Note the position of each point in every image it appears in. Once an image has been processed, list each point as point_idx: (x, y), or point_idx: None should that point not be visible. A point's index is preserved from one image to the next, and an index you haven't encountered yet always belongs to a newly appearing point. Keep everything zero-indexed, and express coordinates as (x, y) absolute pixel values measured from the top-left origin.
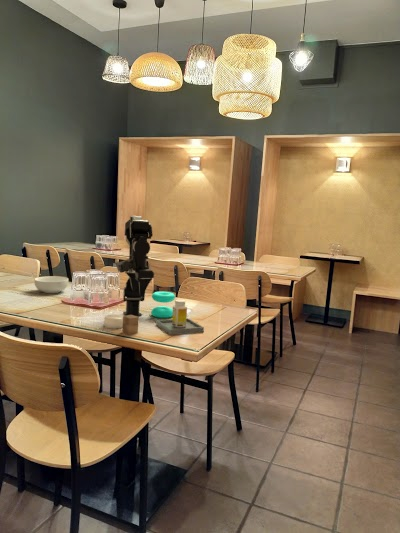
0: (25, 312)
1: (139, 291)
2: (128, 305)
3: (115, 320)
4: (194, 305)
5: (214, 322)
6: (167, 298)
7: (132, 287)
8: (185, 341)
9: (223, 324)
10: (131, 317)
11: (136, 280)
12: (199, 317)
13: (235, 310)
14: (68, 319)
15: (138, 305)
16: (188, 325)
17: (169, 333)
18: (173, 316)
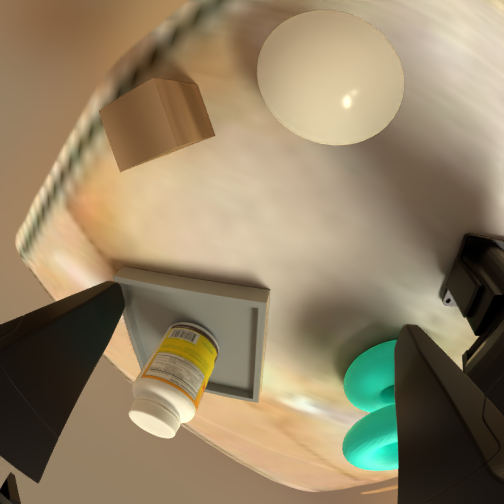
0: None
1: (88, 297)
2: (502, 271)
3: (260, 55)
4: None
5: (237, 428)
6: (346, 441)
7: (415, 352)
8: (69, 271)
9: (212, 428)
10: (114, 126)
11: (413, 472)
12: (303, 430)
13: (321, 481)
14: None
15: (464, 317)
16: None
17: (125, 268)
18: (169, 349)
